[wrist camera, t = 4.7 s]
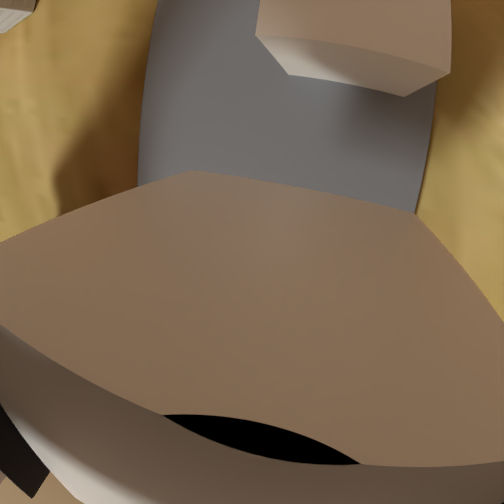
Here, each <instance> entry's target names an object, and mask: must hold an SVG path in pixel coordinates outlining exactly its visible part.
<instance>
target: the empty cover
mask: <svg viewBox="0 0 504 504" xmlns="http://www.w3.org/2000/svg"><path fill="white" fill-rule="evenodd" d="M0 404H1V405H2V407H3V409H4V410H5V412H6V413H7V415H8V416H9V418H10V419H11V421H12V422H13V424H14V425H15V427H16V428H17V429H18V431H19V432H20V434H21V435H22V436H23V438H24V439H25V440H26V442H27V443H28V444H29V446H30V447H31V448H32V450H33V451H34V452H35V453H36V455H37V456H38V457H39V458H40V459H41V461H42V462H43V463H44V464H45V465H46V467H47V468H48V469H49V470H50V471H51V472H52V473H53V474H54V476H55V477H56V478H57V479H58V480H59V481H60V482H61V483H62V484H63V485H64V486H65V488H66V489H68V491H70V493H71V494H72V495H73V496H74V497H75V498H77V499H78V500H80V501H81V502H83V503H84V504H502V503H503V502H504V323H503V321H502V320H501V318H500V317H499V315H498V314H497V312H496V311H495V310H494V308H493V307H492V305H491V304H490V303H489V301H488V300H487V298H486V297H485V296H484V294H483V293H482V292H481V290H480V289H479V288H478V286H477V285H476V284H475V283H474V281H473V280H472V279H471V277H470V276H469V275H468V274H467V272H466V271H465V270H464V269H463V267H462V266H461V265H460V264H459V263H458V261H457V260H456V259H455V258H454V257H453V255H452V254H451V253H450V252H449V251H448V250H447V248H446V247H445V246H444V245H443V244H442V243H441V242H440V240H439V239H438V238H437V237H436V236H435V235H434V234H433V233H432V232H431V230H430V229H429V228H428V227H427V226H426V225H425V224H424V223H423V222H422V221H421V220H420V219H419V218H418V217H417V215H416V214H415V213H412V212H408V211H404V210H400V209H396V208H392V207H388V206H384V205H380V204H376V203H371V202H367V201H363V200H358V199H354V198H350V197H345V196H340V195H336V194H331V193H326V192H321V191H316V190H311V189H306V188H301V187H296V186H291V185H285V184H280V183H274V182H268V181H262V180H256V179H250V178H244V177H238V176H231V175H225V174H218V173H211V172H203V171H196V170H190V171H186V172H183V173H180V174H176V175H173V176H170V177H167V178H163V179H160V180H157V181H154V182H151V183H148V184H145V185H142V186H139V187H136V188H133V189H130V190H127V191H124V192H121V193H119V194H116V195H113V196H110V197H107V198H105V199H102V200H99V201H97V202H94V203H91V204H89V205H86V206H83V207H81V208H78V209H76V210H73V211H71V212H68V213H66V214H63V215H61V216H59V217H56V218H54V219H51V220H49V221H47V222H44V223H42V224H40V225H38V226H35V227H33V228H31V229H29V230H26V231H24V232H22V233H20V234H18V235H16V236H13V237H11V238H9V239H7V240H5V241H3V242H1V243H0Z"/></svg>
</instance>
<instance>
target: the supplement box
mask: <svg viewBox="0 0 504 504" xmlns="http://www.w3.org/2000/svg"><path fill="white" fill-rule="evenodd" d="M35 3H36V0H0V33H5V32H7V31H8V30H9V29H10V28H12V27H13V26H14V25H16V24H17V23H19V22H20V21H21V20H23V19H24V18H26V17H27V16H29V15H30V14H32V13H33V11H34V8H35Z"/></svg>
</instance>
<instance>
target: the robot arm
mask: <svg viewBox="0 0 504 504" xmlns="http://www.w3.org/2000/svg"><path fill="white" fill-rule="evenodd" d="M49 472H50V470H49V469H48V468H47V467H46V465H45V464H44V463H43V462H42V461H41V459H40V458H39V457H38V456H37V455H36V453H35V452H34V451H33V450H32V448H31V447H30V446H29V444H28V443H27V442H26V440H25V439H24V438H23V436H22V435H21V434H20V432H19V431H18V429H17V428H16V427H15V425H14V424H13V422H12V421H11V419H10V418H9V416H8V415H7V413H6V412H5V410H4V409H3V407H2V405H1V404H0V484H1V482H2V481H3V480H4V479H5V478H6V477H8V478H9V479H10V480H11V481H12V482H13V483H14V484H15V485H16V486H17V487H19V488H20V489H21V490H22V491H23V492H24V493H25V494H27V495H28V496H29V497H30V498H33V497H34V496H35V494H36V493H37V491H38V490H39V488H40V486H41V484H42V483H43V482H44V480H45V479H46V477H47V476H48V474H49ZM502 504H504V502H503V503H502Z"/></svg>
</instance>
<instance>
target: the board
mask: <svg viewBox="0 0 504 504" xmlns="http://www.w3.org/2000/svg"><path fill="white" fill-rule="evenodd" d="M259 5H260V0H158V3H157V8H156V13H155V18H154V23H153V29H152V35H151V40H150V47H149V53H148V60H147V67H146V74H145V82H144V91H143V100H142V111H141V122H140V136H139V153H138V178H137V187H139V186H142V185H145V184H148V183H151V182H154V181H157V180H160V179H163V178H167V177H170V176H173V175H176V174H180V173H183V172H186V171H190V170H196V171H203V172H211V173H218V174H225V175H231V176H238V177H244V178H250V179H256V180H262V181H268V182H274V183H280V184H285V185H291V186H296V187H301V188H306V189H311V190H316V191H321V192H326V193H331V194H336V195H340V196H345V197H350V198H354V199H358V200H363V201H367V202H371V203H376V204H380V205H384V206H388V207H392V208H396V209H400V210H404V211H408V212H412V213H414V212H415V208H416V204H417V200H418V195H419V191H420V187H421V182H422V177H423V173H424V168H425V162H426V157H427V152H428V146H429V140H430V134H431V127H432V120H433V113H434V104H435V95H436V85H437V80H436V81H434V82H432V83H430V84H428V85H426V86H424V87H422V88H420V89H419V90H417V91H415V92H413V93H411V94H409V95H407V96H405V97H402V96H398V95H394V94H390V93H386V92H382V91H378V90H374V89H370V88H365V87H361V86H356V85H351V84H346V83H341V82H335V81H329V80H323V79H317V78H310V77H303V76H295V75H288V74H287V72H286V71H285V70H284V69H283V67H282V66H281V65H280V64H279V62H278V61H277V60H276V59H275V58H274V56H273V55H272V54H271V53H270V52H269V51H268V49H267V48H266V47H265V46H264V45H263V44H262V42H261V41H260V40H259V39H258V38H257V37H256V36H255V33H256V26H257V19H258V12H259Z"/></svg>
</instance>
